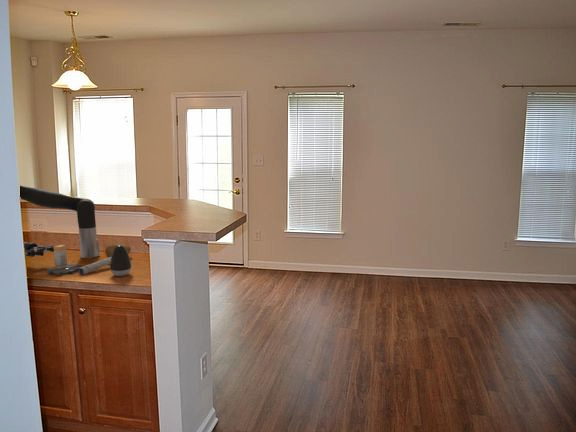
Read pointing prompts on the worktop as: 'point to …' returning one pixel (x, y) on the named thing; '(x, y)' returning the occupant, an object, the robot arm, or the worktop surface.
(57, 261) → the grey translucent cylinder
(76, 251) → the worktop surface
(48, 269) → the sprocket
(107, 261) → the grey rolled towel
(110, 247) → the potato
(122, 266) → the black egg-shaped piece
